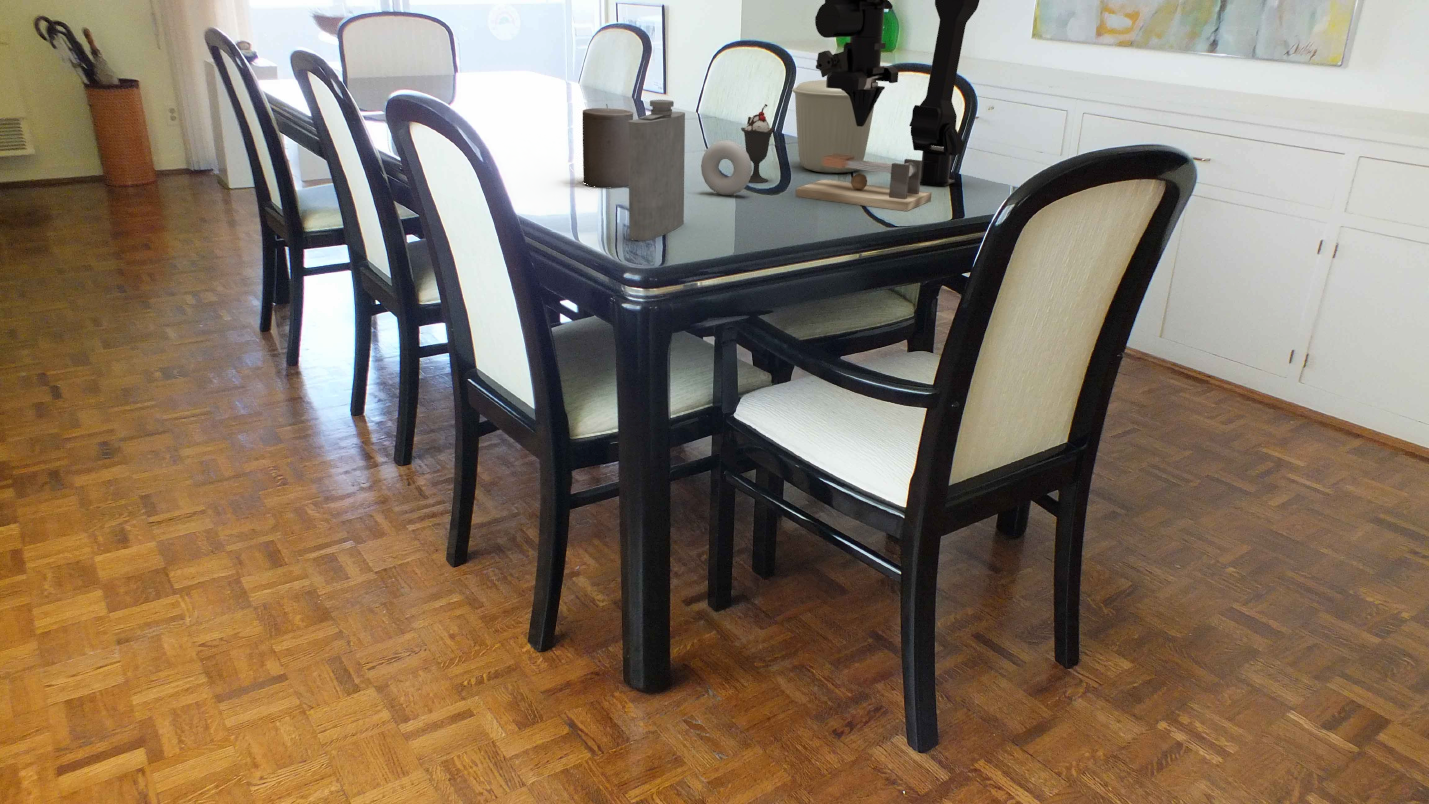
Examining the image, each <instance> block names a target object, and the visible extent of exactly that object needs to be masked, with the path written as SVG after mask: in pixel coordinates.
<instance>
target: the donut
mask: <svg viewBox="0 0 1429 804" xmlns="http://www.w3.org/2000/svg"><path fill="white" fill-rule="evenodd" d="M723 160H729V161H730V163H731V164H732V166H733V173H731V175H730V176H725V175H723V174H722V173H721V171H720V163H721V162H722V161H723ZM752 168H753V167H752V161H751V160H750V158H749V155H748V153H747V152H746V148H744V147H743V146H742V145H740V144H739V143H737V142H736V141H732V140H729V139H726V140H718V141H716V142H714V143H711V145H710V146H709V147H708V148H707V149H706V150H705V151H704V153H703V156H702V158H701V164H700V169H701V176H702V178H703V180H704V183H705V184H706V185H707V187H709V189H711V191H713V192H715V193H716V194H719V195H722V196H734V195H735V194H738V193H741V192H742V191H743V190H744V188H745V187H747V186H748V184H749V183H750V182H749V180H750V178H751V175H752V173H753V169H752Z"/></svg>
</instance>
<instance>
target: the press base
mask: <svg viewBox="0 0 1429 804" xmlns="http://www.w3.org/2000/svg"><path fill="white" fill-rule="evenodd" d="M903 161H904V163H898V162H897V163H896V162H893V163H891V164H892V168H891V173H890V182H889V186H888V187H887V186H880V185H872V184H868V178H867V176H866V175H865V174H863V173H861V172H860V173H856V174H854V175H852V177H851V179H850V182H848V181H839V180H832V179H831V180H830V179H826V178H825V179H821V180H819V181H815V182H811V183H808V184H806V185H802V186H799V187H796V188H795V197H797V198H804V199H813V200H819V201H820V200H821V201H826V202H835V203H842V204H849V205H850V204H851V205H857V206H865V207H873V208H879V209H886V210H888V209H889V210H895V211H904V212H908V211H910V210H913V209H915V208H917V207H919V206H922V205H925V204H927V203H928V202H931V201H932V192H930V191H921V190H920V187H921V184H920V177H921V167H922V159H921V160H919V159H913V158H912V159H911V158H906V159H904V160H903ZM909 162H913V163H915V164H916V166H917V172H916V174H914V175H912V176H910V177H909V169H910V165H908V164H906V163H909Z"/></svg>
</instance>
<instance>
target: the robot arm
mask: <svg viewBox="0 0 1429 804" xmlns="http://www.w3.org/2000/svg"><path fill="white" fill-rule="evenodd" d="M980 1H981V0H934V6H935V10H936V13H937V15H938V18H939V24H938V29H937V34H936V40H935V46H934V51H933V57H932V62H931V68H930V74H929V80H928V85H927V89H926V95H925V98H924V99H923V101H921V103H920V104H914V106H913V108H912V113H911V114H912V115H911V120H910V122H909V124H908V125H909V127H910V137H911V142H912V148H913V150H914V151H918V152H919V151H920V152H922V155H921V160H922V167H921V177H920V185H926V186H928V185H929V186H936V187H947V186H949V185H951V184H953V183H955V179H950V174H951V173H950V172H951V163H952V156H958V155H961V154H962V152H963V149H964V146H965V143H964V141H963V139H962V137H961V135H960V134H959V132H958V130H957V129H956V128H957V113H956V110H955V107H954V104H953V94H954V89H955V86H956V85H955V84H956V78H957V73H958V69H959V63H960V59H961V54H962V53H961V51H962V47H963V41H964V35H965V30H966V26H967V23H968V21H969V20H970V19H971V18H972V16H973V15H974V13H976V11H977V9H978V6H979V3H980ZM891 9H893V4H892V2H890V0H824V3H823V4H821V6H819V8H818V9H817V13H816V15H815V17H814V18H815V19H814V21H815V23H814V24H815V27H816V29H815V30H816V31H817V33H818V34H819V36H820V37H823V38H825V39H826V38H827V39H829V38H830V39H831V38H849V41H846V42H845V43H843V50H842V51H840V52H836V53H832V52H831V50H829V49H828V50H823V51H820V52H818V53H817V58H816V60H815V61H816V64H815V69H816V70H818V71H820V74H821V78H825V77H826V79H825V80H826V88H836V89H841V90H842V91H844V92H845V93H846V94H847V95H848V96H849V97H850V100H851V103H852V107H853V112H854V116H855V120H856V125H857V126H859V127H862V126H864V124H865V123H866V121H867V119H868V117H869V115H870V113H871V111H872V109H873V107H874V108H875V105H876V103H877V101H878V99H879V98H880V96H881V94H882V93H883V91H884V90H885V88H886V86H885V85H884V86H883V85H879V82H888V83H889V84H894V83H898V82H899V71H898V69H897V68H896V67H895V66H891V65H890V66H889V65H881V59H882V58H881V57H882V50H883V49H886V46H887V42H884V41H883V29H884V19H885V18H884V17H885V16H884V15H885V10H891Z"/></svg>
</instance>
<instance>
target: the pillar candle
mask: <svg viewBox="0 0 1429 804" xmlns="http://www.w3.org/2000/svg"><path fill="white" fill-rule="evenodd" d="M605 106H606V107H604V108H603V107H598V108H597V107H596V108H595V107H592V108H586V109H583V110H582V162H583V163H582V164H583V165H582V166H583V169H582V170H583V171H582V173H583V181H582V183H583V182H584V183H586V184H588V185H591V186H590V187H592V186H595V188H601V187H611V188H610V189H615V188H616V189H617V188H618V189H619V188H627V187H629V134H628V121H629V120H634V111H631V110H627V109H622V108H611V107H610V108H609V106H608V103H606V104H605Z"/></svg>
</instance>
